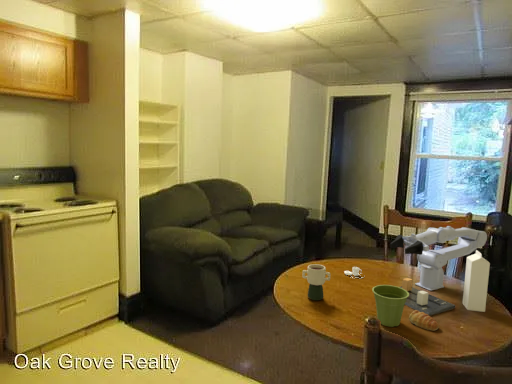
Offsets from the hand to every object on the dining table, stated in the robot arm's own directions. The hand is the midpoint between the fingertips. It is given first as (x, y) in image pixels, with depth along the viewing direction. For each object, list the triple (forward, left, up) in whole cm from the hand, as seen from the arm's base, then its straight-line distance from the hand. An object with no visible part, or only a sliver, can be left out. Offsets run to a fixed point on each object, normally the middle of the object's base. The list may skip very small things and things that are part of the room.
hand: (397, 248), depth 147 cm
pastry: (+12, +23, -20) cm, 32 cm away
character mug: (+33, -10, -19) cm, 40 cm away
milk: (-17, +23, -19) cm, 34 cm away
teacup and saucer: (-1, -26, -20) cm, 33 cm away
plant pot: (+22, +17, -19) cm, 34 cm away
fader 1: (-5, +2, -18) cm, 18 cm away
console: (-2, +9, -19) cm, 21 cm away
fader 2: (+1, +14, -18) cm, 22 cm away
